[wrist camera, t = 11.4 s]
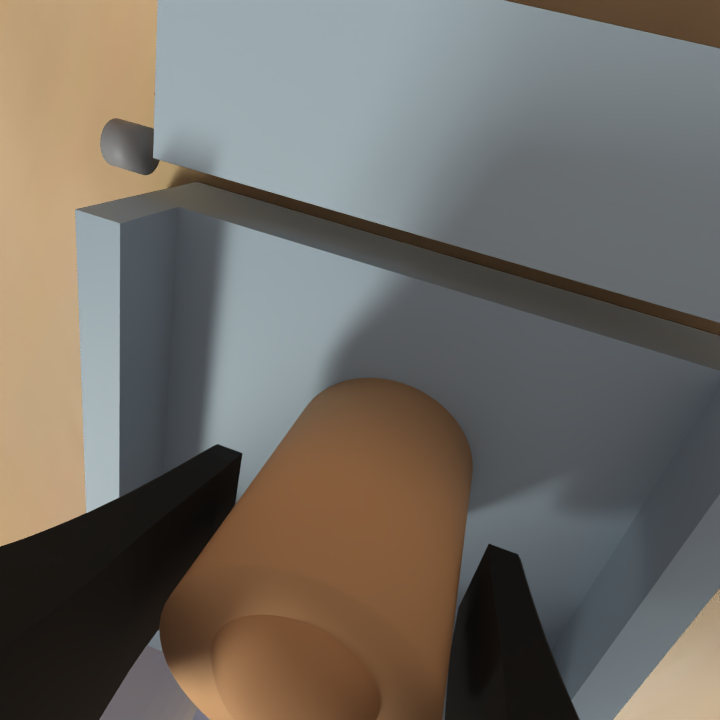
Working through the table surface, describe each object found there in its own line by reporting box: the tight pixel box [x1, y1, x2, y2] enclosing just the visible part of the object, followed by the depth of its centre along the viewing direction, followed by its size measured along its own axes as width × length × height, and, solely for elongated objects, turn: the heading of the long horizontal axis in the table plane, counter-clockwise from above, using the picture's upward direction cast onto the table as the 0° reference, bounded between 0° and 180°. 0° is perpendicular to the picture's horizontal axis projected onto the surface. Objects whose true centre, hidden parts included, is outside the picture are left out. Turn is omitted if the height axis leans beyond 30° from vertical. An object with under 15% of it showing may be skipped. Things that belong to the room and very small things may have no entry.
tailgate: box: [153, 0, 720, 323], centre depth 10 cm, size 1×13×4 cm
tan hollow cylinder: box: [159, 378, 473, 720], centre depth 10 cm, size 5×5×7 cm
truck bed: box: [75, 118, 720, 720], centre depth 13 cm, size 12×17×6 cm
